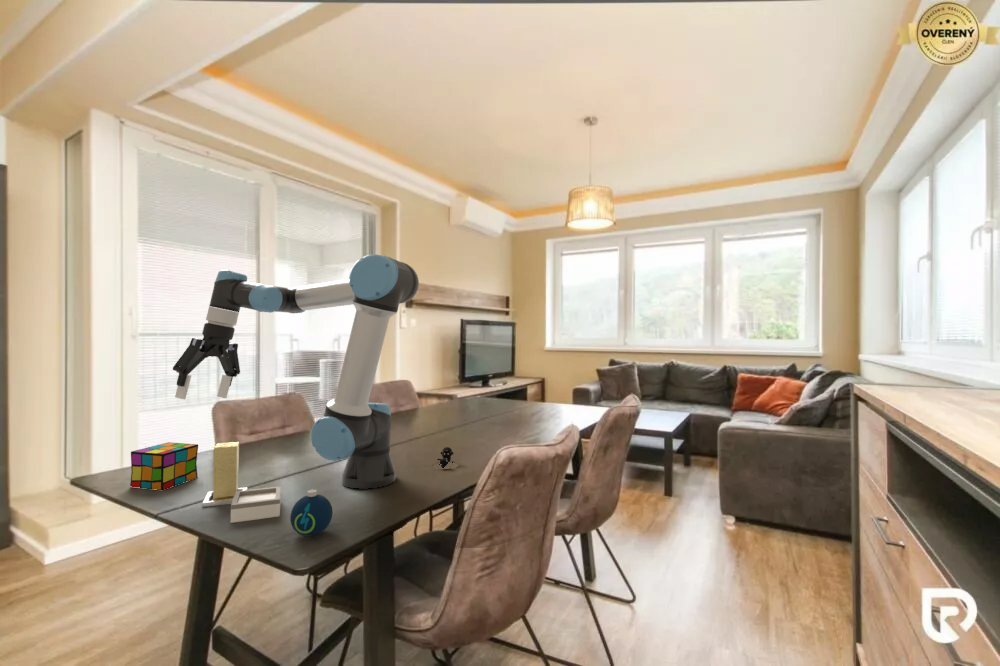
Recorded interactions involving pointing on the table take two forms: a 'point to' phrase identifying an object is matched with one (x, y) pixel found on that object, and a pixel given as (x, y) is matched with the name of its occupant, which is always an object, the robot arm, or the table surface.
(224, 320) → the robot arm
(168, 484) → the toy
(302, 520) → the christmas ornament
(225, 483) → the block
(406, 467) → the table surface
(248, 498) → the white square tray
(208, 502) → the jamb socket
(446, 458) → the toy figurine
